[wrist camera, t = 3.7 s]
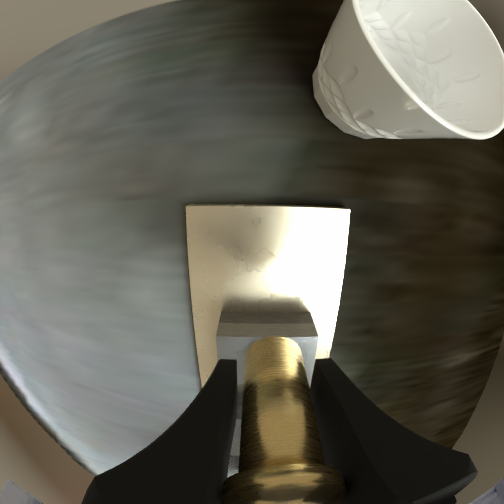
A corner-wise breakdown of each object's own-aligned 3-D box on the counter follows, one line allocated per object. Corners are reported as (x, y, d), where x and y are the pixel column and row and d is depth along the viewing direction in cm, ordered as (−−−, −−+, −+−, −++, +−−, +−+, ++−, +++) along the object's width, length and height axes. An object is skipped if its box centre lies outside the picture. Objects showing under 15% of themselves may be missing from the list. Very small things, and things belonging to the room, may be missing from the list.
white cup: (389, 42, 13) (467, -16, 3) (420, 140, 15) (528, 137, 6) (287, 47, 14) (316, -50, 4) (321, 157, 16) (402, 147, 6)
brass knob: (306, 383, 11) (330, 512, 5) (236, 384, 11) (224, 517, 5) (315, 326, 10) (363, 474, 4) (234, 327, 10) (215, 484, 4)
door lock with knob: (303, 440, 24) (308, 474, 20) (213, 440, 24) (208, 474, 20) (345, 207, 17) (374, 221, 12) (189, 204, 17) (166, 217, 12)
